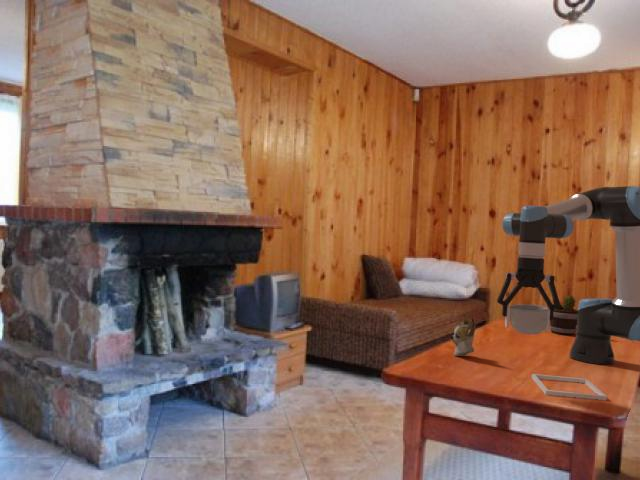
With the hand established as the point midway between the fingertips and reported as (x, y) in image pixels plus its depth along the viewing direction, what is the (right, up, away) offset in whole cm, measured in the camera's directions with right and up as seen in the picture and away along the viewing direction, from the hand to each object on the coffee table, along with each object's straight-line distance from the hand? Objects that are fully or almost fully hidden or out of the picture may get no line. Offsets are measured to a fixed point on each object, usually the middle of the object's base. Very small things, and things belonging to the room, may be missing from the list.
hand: (526, 328), depth 171 cm
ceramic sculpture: (-11, -16, +35) cm, 40 cm away
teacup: (0, -1, 0) cm, 1 cm away
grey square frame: (+12, -19, -1) cm, 22 cm away
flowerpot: (+51, -17, +94) cm, 108 cm away
